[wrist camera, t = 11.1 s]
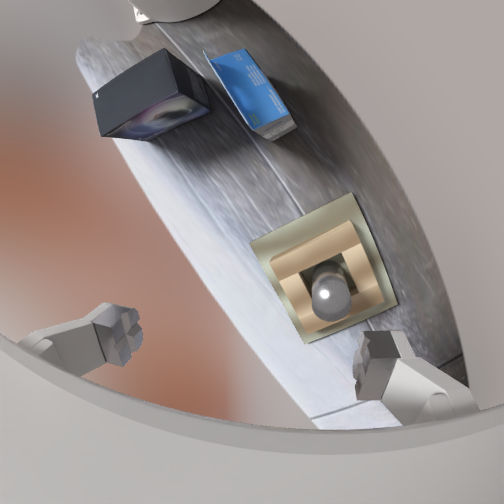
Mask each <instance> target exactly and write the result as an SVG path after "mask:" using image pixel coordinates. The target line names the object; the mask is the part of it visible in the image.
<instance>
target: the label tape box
mask: <svg viewBox="0 0 504 504" xmlns="http://www.w3.org/2000/svg"><path fill="white" fill-rule="evenodd" d="M203 53H204V55H205V57H206V59H207V61H208V62H209V64H210V66H211V67H212V69H213V70H214V72H215V74H216V75H217V77H218V78H219V80H220V82H221V83H222V85H223V86H224V88H225V90H226V91H227V93H228V95H229V96H230V98H231V99H232V101H233V103H234V104H235V106H236V107H237V109H238V111H239V112H240V114H241V115H242V117H243V118H244V120H245V122H246V123H247V125H248V126H249V127H250V128H251V129H252V130H253V131H255V132H256V133H258V134H259V135H261V136H263V137H264V138H266V139H268V140H269V141H271V142H273V141H274V140H276V139H278V138H280V137H281V136H283V135H285V134H286V133H288V132H290V131H292V130H294V129H295V128H297V126H296V124H295V122H294V121H293V119H292V117H291V115H290V113H289V111H288V109H287V108H286V106H285V104H284V102H283V101H282V99H281V98H280V96H279V94H278V93H277V91H276V90H275V88H274V87H273V85H272V84H271V82H270V81H269V80H268V78H267V77H266V75H265V74H264V72H263V71H262V70H261V68H260V67H259V66H258V64H257V63H256V62H255V60H254V59H253V58H252V56H251V55H250V54H249V52H248V51H247V50H246V49H241V50H238V51H234V52H231V53H228V54H226V55H223V56H220V57H218V58H215V59H212V60H209V59H208V56H207V55H206V53H205V50H203Z"/></svg>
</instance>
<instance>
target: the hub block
mask: <svg viewBox="0 0 504 504" xmlns="http://www.w3.org/2000/svg"><path fill="white" fill-rule="evenodd" d="M249 244H250V246H251V248H252V250H253V252H254V253H255V255H256V257H257V259H258V261H259V262H260V264H261V266H262V268H263V270H264V271H265V273H266V275H267V277H268V279H269V281H270V282H271V284H272V286H273V288H274V290H275V291H276V293H277V295H278V297H279V299H280V301H281V302H282V304H283V306H284V308H285V310H286V311H287V313H288V315H289V317H290V319H291V321H292V322H293V324H294V326H295V328H296V330H297V332H298V333H299V335H300V337H301V339H302V341H303V342H304V344H306V343H309V342H312V341H314V340H317V339H320V338H322V337H325V336H327V335H330V334H332V333H335V332H337V331H340V330H342V329H344V328H347V327H349V326H352V325H354V324H356V323H358V322H361V321H363V320H365V319H368V318H370V317H372V316H374V315H376V314H379V313H381V312H383V311H385V310H387V309H389V308H391V307H393V306H395V305H397V301H396V298H395V295H394V292H393V289H392V286H391V284H390V281H389V278H388V275H387V273H386V270H385V267H384V265H383V262H382V260H381V257H380V255H379V252H378V250H377V247H376V245H375V242H374V240H373V238H372V235H371V233H370V231H369V228H368V226H367V224H366V222H365V219H364V217H363V215H362V213H361V210H360V208H359V206H358V204H357V202H356V200H355V198H354V196H353V194H352V192H350V193H347V194H345V195H343V196H341V197H339V198H337V199H335V200H333V201H331V202H329V203H327V204H325V205H323V206H321V207H319V208H317V209H315V210H313V211H311V212H309V213H307V214H305V215H303V216H301V217H299V218H297V219H295V220H293V221H291V222H289V223H287V224H285V225H284V226H282V227H280V228H278V229H276V230H274V231H272V232H270V233H268V234H266V235H264V236H262V237H260V238H258V239H256V240H254V241H252V242H250V243H249ZM327 260H330V261H334V262H336V263H338V264H339V265H340V266H341V267H342V269H343V272H344V275H345V278H346V282H347V285H348V288H349V292H350V295H351V299H352V306H351V309H350V311H349V313H348V314H347V315H346V316H345V317H344V318H342V319H340V320H338V321H334V322H328V321H324V320H321V319H320V318H318V317H317V316H316V315H315V313H314V312H313V309H312V273H313V270H314V268H315V267H316V266H317V265H318V264H319V263H320V262H323V261H327Z"/></svg>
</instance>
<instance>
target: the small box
mask: <svg viewBox="0 0 504 504" xmlns="http://www.w3.org/2000/svg"><path fill="white" fill-rule="evenodd" d="M92 99H93V104H94V109H95V114H96V119H97V123H98V128H99V132H100V135H101V137H112V138H123V139H132V140H140V141H147V142H148V141H150V140H152V139H154V138H156V137H158V136H160V135H162V134H164V133H166V132H168V131H170V130H172V129H174V128H176V127H179V126H181V125H183V124H185V123H187V122H190V121H192V120H194V119H196V118H199V117H201V116H203V115H206V114H208V113H211V112H212V108H211V105H210V101H209V98H208V95H207V92H206V89H205V86H204V83H203V80H202V77H201V75H199V74H197V73H196V72H195V71H193V70H192V69H191V68H189V67H188V66H187V65H186V64H184V63H183V62H182V61H181V60H179V59H177V58H176V57H175V56H174V55H172V54H171V53H170V52H169V51H168V50H167V49H165V48H163V49H161V50H159V51H157V52H156V53H154V54H152V55H150V56H149V57H147V58H145V59H144V60H142V61H140V62H139V63H137V64H135V65H134V66H132V67H131V68H129V69H127V70H126V71H124V72H123V73H121V74H120V75H118V76H117V77H115V78H114V79H112V80H111V81H110V82H108V83H107V84H105V85H104V86H103V87H101V88H100V89H99V90H97V91H96V92H94V93H93V94H92Z"/></svg>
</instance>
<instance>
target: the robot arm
mask: <svg viewBox="0 0 504 504" xmlns="http://www.w3.org/2000/svg"><path fill="white" fill-rule="evenodd" d="M127 1H128V2H129V3H130V4H132V5H133V6H134V12H135V17H136V21H137V22H138V23H139V24H147V23H151V22H154V21H160V22H177V21H182V20H186V19H189V18H192V17H194V16H197V15H199V14H201V13H203V12H205V11H207V10H208V9H210V8H211V7H213V6H214V5H215V4H217V3H218V2H219V1H220V0H127ZM139 319H140V318H139V314H138V311H137V310H136V309H135V308H131V307H126V306H121V305H117V304H112V303H102V304H101V305H100V306H98V307H97V308H96V309H94V310H93V311H92V312H90V313H89V314H88V315H87V316H85V317H84V318H82V319H76V320H73V321H70V322H66V323H63V324H59V325H56V326H52V327H48V328H44V329H41V330H37V331H33V332H32V333H30V334H29V335H28V336H26V337H25V338H24V339H22V340H21V341H20V342H19V343H17V344H16V343H15V342H13V341H11V340H10V339H8V338H7V337H5V336H3V335H2V334H0V504H504V404H501V405H498V406H495V407H491V408H488V409H485V410H481V411H480V410H479V408H478V406H477V404H476V402H475V400H474V398H473V396H472V394H471V392H470V390H469V388H467V387H466V386H464V385H463V384H461V383H460V382H458V381H456V380H455V379H453V378H452V377H450V376H449V375H447V374H445V373H444V372H442V371H441V370H439V369H438V368H436V367H434V366H433V365H431V364H430V363H428V362H427V361H425V360H423V359H422V358H420V357H416V356H415V354H414V352H413V350H412V348H411V346H410V344H409V342H408V340H407V338H406V336H405V334H404V332H403V331H402V330H390V331H361V332H360V334H359V338H358V345H359V349H357V350H356V351H355V354H354V359H353V377H354V378H355V379H356V380H357V381H356V384H355V391H356V397H357V400H381V402H382V403H383V404H384V405H385V406H386V408H387V409H388V410H389V411H390V412H391V413H392V414H393V415H394V416H395V417H396V418H397V420H398V421H399V422H400V423H401V424H402V425H403V426H396V427H386V428H373V429H352V430H313V429H294V428H282V427H271V426H262V425H254V424H246V423H239V422H234V421H227V420H221V419H216V418H211V417H206V416H201V415H197V414H192V413H188V412H184V411H180V410H176V409H172V408H168V407H165V406H161V405H157V404H154V403H151V402H147V401H144V400H141V399H137V398H135V397H131V396H129V395H126V394H123V393H120V392H117V391H114V390H112V389H109V388H106V387H104V386H101V385H99V384H96V383H94V382H92V381H89V380H87V379H84V378H82V377H80V376H82V375H84V374H86V373H88V372H90V371H92V370H94V369H96V368H98V367H100V366H101V365H103V364H105V363H106V362H107V363H110V364H114V365H117V366H121V367H123V366H124V365H125V364H126V363H127V362H128V361H129V360H130V358H131V357H132V356H131V353H132V352H134V351H137V350H138V349H139V348H140V346H141V344H142V341H143V332H142V328H141V327H140V326H139V325H138V321H139Z"/></svg>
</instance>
